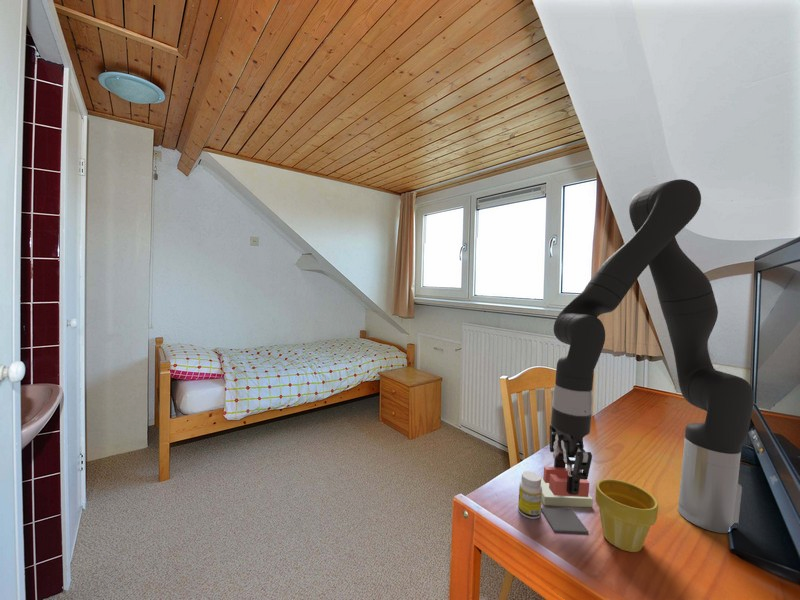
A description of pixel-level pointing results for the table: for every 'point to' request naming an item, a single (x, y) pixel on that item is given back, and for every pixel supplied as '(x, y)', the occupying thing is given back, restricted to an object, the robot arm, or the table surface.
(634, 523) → the plant pot
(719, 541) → the table surface
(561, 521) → the coaster
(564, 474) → the c link
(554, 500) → the stand
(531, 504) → the supplement bottle
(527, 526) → the table surface
